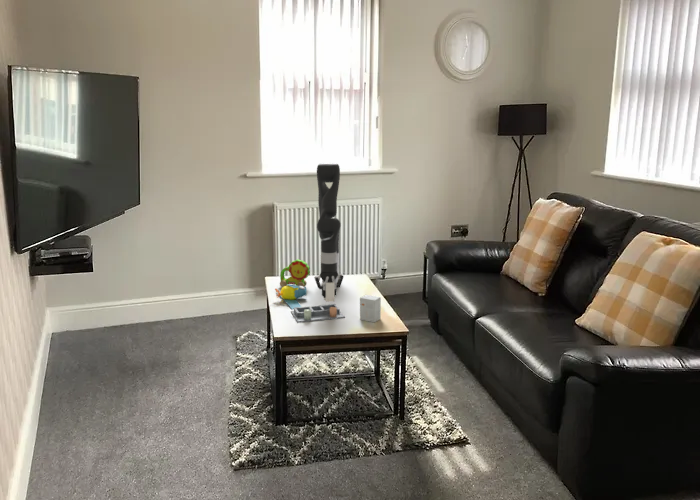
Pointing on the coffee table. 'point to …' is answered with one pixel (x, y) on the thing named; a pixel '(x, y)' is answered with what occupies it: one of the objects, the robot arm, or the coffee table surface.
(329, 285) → the plug
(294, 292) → the blue yellow plastic figure
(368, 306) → the small box
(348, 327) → the coffee table surface
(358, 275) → the coffee table surface
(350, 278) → the coffee table surface
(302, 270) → the toy lion
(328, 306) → the grey compartment tray
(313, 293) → the coffee table surface
